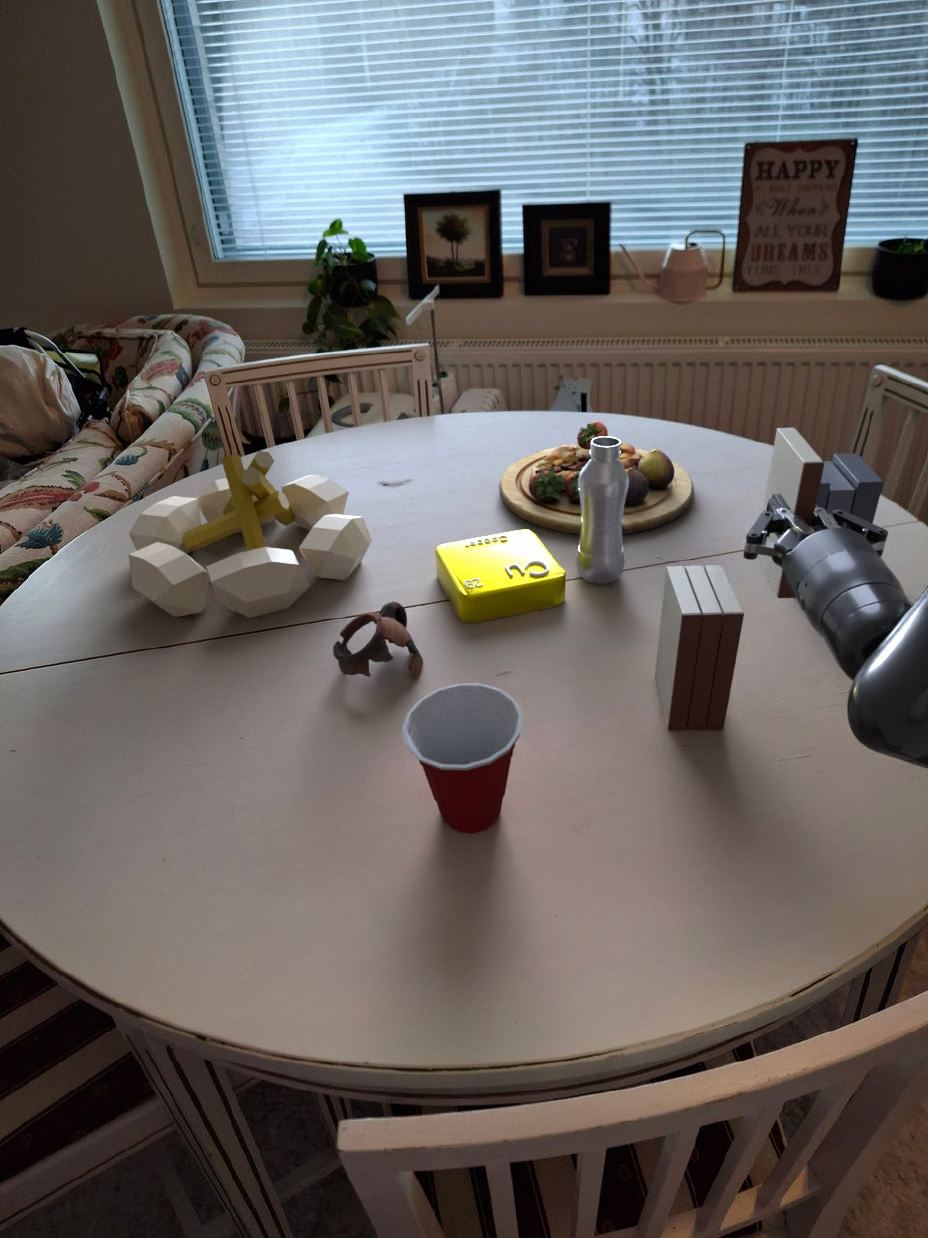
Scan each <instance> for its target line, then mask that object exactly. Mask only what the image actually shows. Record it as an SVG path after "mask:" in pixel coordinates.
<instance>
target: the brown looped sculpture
mask: <svg viewBox="0 0 928 1238" xmlns="http://www.w3.org/2000/svg"><path fill="white" fill-rule="evenodd" d="M406 611H407V610H406V609H405V607H404V606H403V605H402V604H401V603H399V602H398V601H390V602H387V603H385V604H384V605H383V606H382V607H381V609H380V610H379V612H378V613H377V612H374V611H367V612H364V613H361V614H359V615H357V616H355V617H354V618H353V619H351V620H350V621H349V622H348V623H346V625H345V626H344V627H343V628H342V629H341V631H340V632H339V636H340V637H341V638H342V641H341V642H340V640H336V641H335V643H334V644H333V646H332V647H333V648H332V653H333V657H334V658H335V659H336V660H337V661H338V667H339V670H340V671H341V672H342V674H344V675H348V676H355V675H362V676H365V677H368V678H370V677H371V674H370V661H372V662H374V663H382V662H383V663H389V662H391V661H393V659H394V656H393V655H392V654H391V653H390V651H389V647H388V645H387V641H388V643H389V644H394V645H395V646H396V647H399V648H403V649H404V648H407V651H408V653H409V654H412V655H411V659H410V662H409V664H408V666H407V669H408V670H409V671H410V672H412V675H413V677H414V679H417V678H419V676H420V675H421V673H422V670H423V665H424V659H423V656H422V655H421V652H420V650H419V649H418V647H417V646H416V644H415V641H414V639H413V638H412V634H411V633H410V632H409V631H408V629H407V628H408V615H407V612H406ZM371 623H374V624H375V625H376V626H375V631H374V633H373V635H372V636H371V639H370V640H369V641H368V642H367V643H366V645H365V646H364V647H362V648H361V649H360V650H358V651H357V652H355V653H352V651H351V650H349V648H348V643H349V641H350V640H351V639H352V637H354V635H355V634H356V633H357V632H358V631H359V630H360V629H362V628H363V627H364V626H366V625H369V624H371Z"/></svg>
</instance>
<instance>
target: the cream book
mask: <svg viewBox="0 0 928 1238" xmlns="http://www.w3.org/2000/svg"><path fill="white" fill-rule="evenodd" d="M775 432H776V433H775V437H774V443H773V449H772V456H771V461H770V467H769V473H768V479H767V483H766V489H765V495H764V500H763V507H762V512H763V511H766V509H767V503H768V499H769V498H772V495H773V494H781V496H782V497H783V499H784V500H785V502H786V503H787V505H788V506H789V508H790V511H791V512H792V513H793V515H799V516H800V517H801V518H802V519H803V521H804V522H805V523H806V524H807V525H808V526H811V525H812V520H813V515H814V511H815V506H816V501H817V497H818V492H819V487H820V483H821V478H822V474H823V469H824V464H825V463H824V462H823V460H822V459H821V457H820V456H819V455H818V454H817V452H816V451H815V450H814V449H813V448H812V447H811V445H810V444H809V443H808V442H807V441H806V439H805V438H804V437H803V436H802V435H801V434H800V432H799V431H798V430H797V429H796V427H777V428H776V431H775ZM769 538H770V541H771V542H772V543H774V544H775V543H776V542H777V541H778V540H779V539H778V538H777V536H776V535H775V534H774V533H770V536H769ZM756 559H757V561H758V563H759V564H760V567H761V569H762V570H763V572H764V574H765V576H766V578H767V580H768V582H769V584H770V585H771V587H772V589H773V591H774V593H775V595H776V597H777V599H797V598H796V597H795V595H794V593H793V591H792V590H791V588H790V586H789V584H788V582H787V580H786V577H785V573H784V570H783V568H781V567H780V566H778V565H776V564H775V563H774V562H773V560H772V557H770V556H766V555H759V554H758V556H757V557H756Z"/></svg>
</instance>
